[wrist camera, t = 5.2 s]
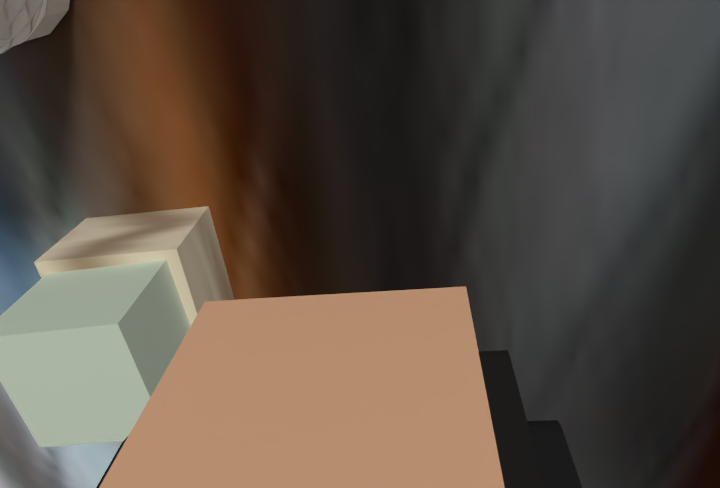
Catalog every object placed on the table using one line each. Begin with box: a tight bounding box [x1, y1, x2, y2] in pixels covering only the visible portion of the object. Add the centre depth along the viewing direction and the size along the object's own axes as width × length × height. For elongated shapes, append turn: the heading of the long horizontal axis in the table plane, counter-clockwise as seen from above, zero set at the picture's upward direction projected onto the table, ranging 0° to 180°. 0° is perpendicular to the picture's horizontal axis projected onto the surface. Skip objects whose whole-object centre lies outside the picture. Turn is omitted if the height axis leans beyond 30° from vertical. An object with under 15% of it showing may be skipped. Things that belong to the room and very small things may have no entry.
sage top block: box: [0, 260, 191, 447], centre depth 24 cm, size 6×6×5 cm
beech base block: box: [34, 206, 234, 325], centre depth 29 cm, size 7×7×5 cm
